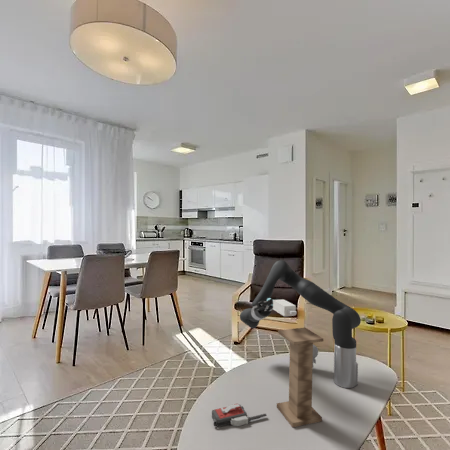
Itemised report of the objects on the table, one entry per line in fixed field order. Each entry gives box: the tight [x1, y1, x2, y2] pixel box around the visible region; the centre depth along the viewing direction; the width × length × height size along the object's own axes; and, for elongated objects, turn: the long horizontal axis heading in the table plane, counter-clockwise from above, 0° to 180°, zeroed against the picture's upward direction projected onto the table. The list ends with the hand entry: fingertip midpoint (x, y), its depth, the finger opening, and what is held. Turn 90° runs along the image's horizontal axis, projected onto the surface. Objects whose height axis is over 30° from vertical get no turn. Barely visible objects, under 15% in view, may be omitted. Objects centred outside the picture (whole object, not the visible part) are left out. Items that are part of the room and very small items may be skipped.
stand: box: [276, 327, 324, 428], centre depth 113 cm, size 12×12×30 cm
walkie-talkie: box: [211, 403, 267, 428], centre depth 110 cm, size 9×4×20 cm
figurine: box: [312, 344, 319, 369], centre depth 149 cm, size 8×8×12 cm
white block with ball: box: [267, 297, 297, 317], centre depth 128 cm, size 5×23×4 cm, turn 17°
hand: (275, 300), depth 132 cm, fingers closed on white block with ball, 2 cm apart
